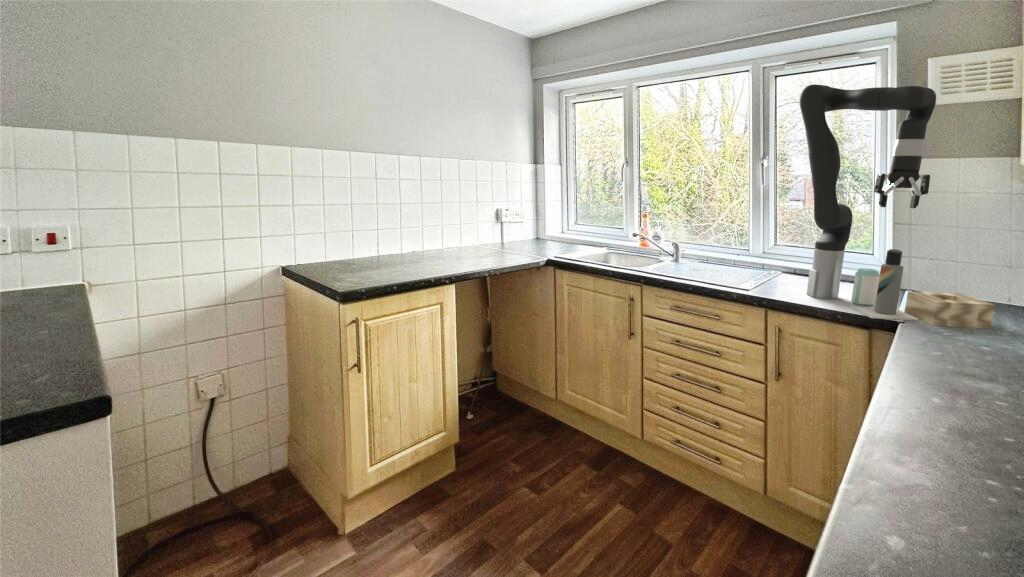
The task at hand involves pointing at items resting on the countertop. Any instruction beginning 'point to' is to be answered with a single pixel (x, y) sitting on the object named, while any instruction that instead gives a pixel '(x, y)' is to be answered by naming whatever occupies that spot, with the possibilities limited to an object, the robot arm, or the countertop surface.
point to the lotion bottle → (889, 283)
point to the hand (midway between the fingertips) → (897, 207)
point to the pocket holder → (949, 309)
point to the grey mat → (872, 314)
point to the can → (865, 287)
